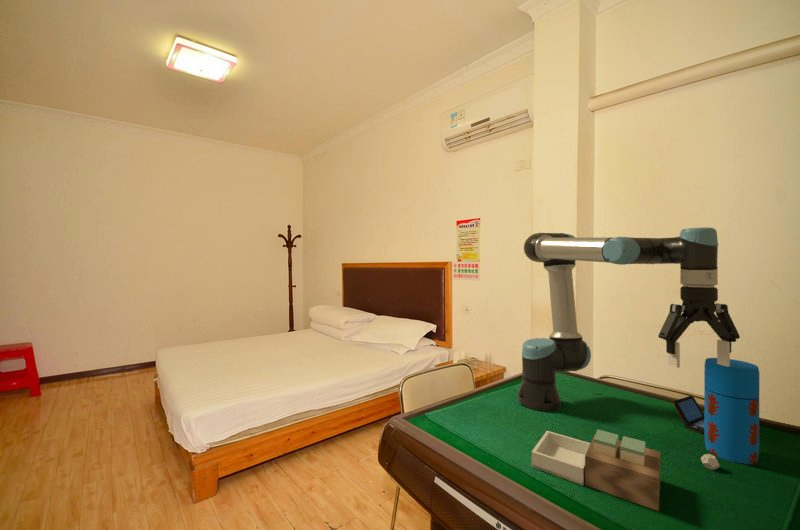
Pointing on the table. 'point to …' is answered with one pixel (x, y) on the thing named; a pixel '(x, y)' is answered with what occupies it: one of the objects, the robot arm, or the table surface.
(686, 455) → the table surface
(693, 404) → the handheld game console
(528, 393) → the robot arm
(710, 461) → the game die
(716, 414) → the thermos
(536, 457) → the bin
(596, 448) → the tile
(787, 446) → the table surface
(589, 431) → the table surface
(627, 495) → the walnut block
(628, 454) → the tile
